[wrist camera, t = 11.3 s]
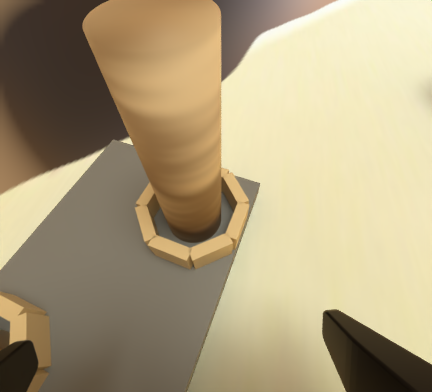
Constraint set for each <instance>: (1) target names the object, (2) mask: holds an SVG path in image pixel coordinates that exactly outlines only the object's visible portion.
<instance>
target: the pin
mask: <svg viewBox="0 0 432 392" xmlns="http://www.w3.org/2000/svg"><path fill="white" fill-rule="evenodd" d="M83 31H84V33H85V35H86V38H87V40H88V42H89V45H90V47H91V49H92V51H93V54H94V56H95V58H96V61H97V63H98V65H99V67H100V70H101V72H102V74H103V77H104V79H105V81H106V83H107V86H108V88H109V90H110V92H111V95H112V97H113V99H114V101H115V104H116V106H117V108H118V111H119V113H120V115H121V118H122V120H123V122H124V124H125V127H126V129H127V131H128V134H129V136H130V138H131V140H132V143H133V145H134V147H135V150H136V152H137V154H138V156H139V159H140V161H141V163H142V166H143V168H144V170H145V172H146V175H147V177H148V179H149V182H150V184H151V186H152V188H153V191H154V193H155V195H156V197H157V200H158V202H159V204H160V207H161V209H162V211H163V213H164V216H165V218H166V220H167V223H168V225H169V227H170V229H171V231H172V233H173V234H174V235H175V236H176V237H177V238H178V239H180V240H182V241H184V242H188V243H199V242H203V241H205V240H207V239H209V238H211V237H212V236H213V235H214V234H215V233H216V232H217V230H218V229H219V227H220V224H221V12H220V9H219V7H218V6H217V5H216V3H214V2H213V1H212V0H109V1H107V2H105V3H103V4H101V5H99V6H97V7H96V8H95V9H93V10H92V11H91V12H90V13H89V14H88V15H87V16H86V17H85V19H84V21H83Z"/></svg>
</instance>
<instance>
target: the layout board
mask: <svg viewBox="0 0 432 392" xmlns="http://www.w3.org/2000/svg"><path fill="white" fill-rule="evenodd" d="M259 186H260V183H257V182H254V181H251V180H247V179H244V178H241V177H237V176H234V175H233V173H229V170H228V169H224V168H221V224H220V227H219V229H218V230H217V232H216V233H215V234H214V235H213V236H212V237H211V238H209V239H207V240H205V241H203V242H199V243H188V242H184V241H182V240H180V239H178V238H177V237H176V236H175V235H174V234H173V233H172V231H171V229H170V227H169V225H168V223H167V220H166V218H165V216H164V213H163V211H162V209H161V207H160V204H159V202H158V200H157V197H156V195H155V193H154V191H153V188H152V186H151V184H150V182H149V179H148V177H147V175H146V172H145V170H144V168H143V166H142V163H141V161H140V159H139V156H138V154H137V152H136V150H135V147H134V146H133V145H130V144H127V143H123V142H120V141H116V140H113V141H112V142H111V143H110V144H109V145H108V146H107V147H106V149H105V150H104V151H103V152H102V153H101V154H100V156H99V157H98V158H97V159H96V160H95V161H94V163H93V164H92V165H91V166H90V167H89V168H88V170H87V171H86V172H85V173H84V174H83V175H82V176H81V178H80V179H79V180H78V181H77V182H76V183H75V185H74V186H73V187H72V188H71V189H70V190H69V192H68V193H67V194H66V195H65V196H64V197H63V198H62V200H61V201H60V202H59V203H58V204H57V205H56V207H55V208H54V209H53V210H52V211H51V212H50V214H49V215H48V216H47V217H46V218H45V219H44V221H43V222H42V223H41V224H40V225H39V226H38V227H37V229H36V230H35V231H34V232H33V233H32V234H31V236H30V237H29V238H28V239H27V240H26V241H25V243H24V244H23V245H22V246H21V247H20V248H19V249H18V251H17V252H16V253H15V254H14V255H13V256H12V258H11V259H10V260H9V261H8V262H7V263H6V265H5V266H4V267H3V268H2V269H1V270H0V350H2V349H4V348H5V347H7V346H8V345H10V344H12V343H14V342H16V341H22V340H31V341H32V342H33V344H34V347H35V351H36V354H37V358H38V362H39V364H38V369H37V372H36V374H35V376H34V378H33V380H32V382H31V384H30V386H29V388H28V390H27V392H187V390H188V387H189V384H190V381H191V378H192V376H193V373H194V370H195V367H196V364H197V362H198V359H199V356H200V353H201V350H202V348H203V345H204V342H205V339H206V336H207V334H208V331H209V328H210V325H211V323H212V320H213V317H214V314H215V311H216V309H217V306H218V303H219V300H220V297H221V295H222V292H223V289H224V286H225V283H226V281H227V278H228V275H229V272H230V269H231V267H232V264H233V261H234V258H235V256H236V253H237V250H238V247H239V244H240V242H241V239H242V236H243V233H244V230H245V228H246V225H247V222H248V219H249V216H250V214H251V211H252V208H253V205H254V202H255V200H256V197H257V194H258V190H259Z"/></svg>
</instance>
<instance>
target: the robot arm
mask: <svg viewBox="0 0 432 392" xmlns="http://www.w3.org/2000/svg"><path fill="white" fill-rule="evenodd" d="M322 334H323V339H324V342H325V344H326V346H327V349H328V351H329V353H330V355H331V358H332V360H333V362H334V365H335V367H336V369H337V372H338V374H339V376H340V378H341V381H342V383H343V385H344V388H345V390H346V392H432V364H430V363H428V362H426V361H425V360H423V359H421V358H420V357H418V356H416V355H414V354H413V353H411V352H409V351H408V350H406V349H404V348H402V347H401V346H399V345H397V344H396V343H394V342H392V341H390V340H389V339H387V338H385V337H384V336H382V335H380V334H379V333H377V332H375V331H373V330H372V329H370V328H368V327H367V326H365V325H363V324H361V323H360V322H358V321H356V320H355V319H353V318H351V317H349V316H348V315H346V314H344V313H343V312H341V311H339V310H336V309H334V310H325V311H324V312H323V328H322ZM38 364H39V362H38V358H37V354H36V351H35V347H34V344H33V342H32V341H31V340H22V341H16V342H14V343H12V344H10V345H8V346H7V347H5V348H4V349H2V350H0V392H27V390H28V388H29V386H30V384H31V382H32V380H33V378H34V376H35V374H36V372H37V369H38Z"/></svg>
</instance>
